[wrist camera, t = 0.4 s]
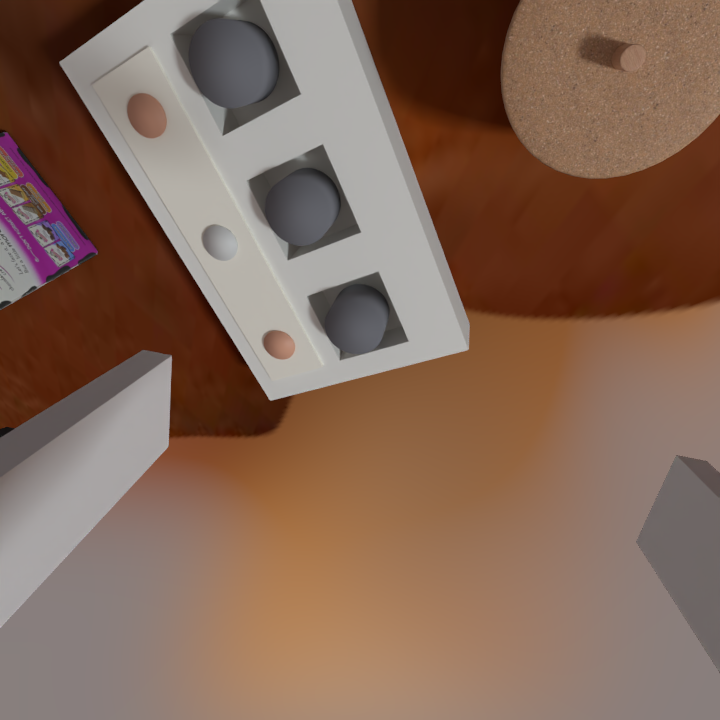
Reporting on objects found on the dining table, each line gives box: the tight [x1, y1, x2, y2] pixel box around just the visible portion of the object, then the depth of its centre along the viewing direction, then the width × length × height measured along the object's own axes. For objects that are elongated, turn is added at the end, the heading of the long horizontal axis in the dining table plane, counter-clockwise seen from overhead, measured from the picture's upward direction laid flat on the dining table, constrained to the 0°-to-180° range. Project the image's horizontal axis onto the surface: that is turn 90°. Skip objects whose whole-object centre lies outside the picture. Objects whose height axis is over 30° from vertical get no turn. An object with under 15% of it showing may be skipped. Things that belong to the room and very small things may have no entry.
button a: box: [189, 18, 279, 109], centre depth 29 cm, size 4×4×3 cm
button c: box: [325, 284, 390, 354], centre depth 37 cm, size 4×4×3 cm
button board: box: [59, 0, 470, 401], centre depth 35 cm, size 18×28×4 cm, turn 24°
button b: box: [265, 168, 341, 246], centre depth 33 cm, size 4×4×3 cm
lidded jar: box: [501, 0, 720, 178], centre depth 25 cm, size 11×11×9 cm
